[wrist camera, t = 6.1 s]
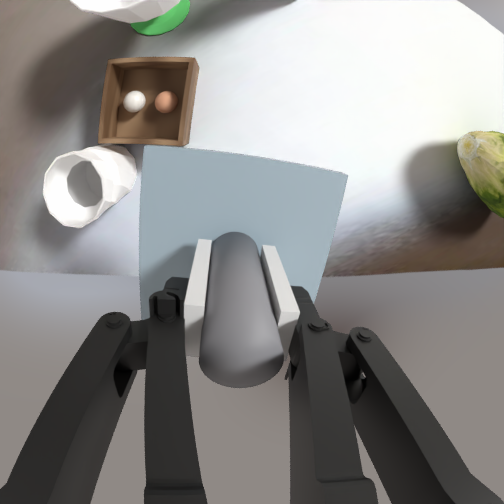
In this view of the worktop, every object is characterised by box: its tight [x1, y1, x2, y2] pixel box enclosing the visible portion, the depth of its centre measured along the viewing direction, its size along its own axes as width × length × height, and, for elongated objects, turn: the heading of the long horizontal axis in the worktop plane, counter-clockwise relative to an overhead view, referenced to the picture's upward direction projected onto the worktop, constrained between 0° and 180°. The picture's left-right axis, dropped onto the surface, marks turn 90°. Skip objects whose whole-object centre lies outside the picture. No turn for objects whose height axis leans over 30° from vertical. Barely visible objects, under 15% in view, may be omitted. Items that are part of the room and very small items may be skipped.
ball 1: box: [123, 91, 146, 112], centre depth 31 cm, size 3×3×3 cm
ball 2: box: [155, 91, 178, 113], centre depth 32 cm, size 3×3×3 cm
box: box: [98, 57, 199, 146], centre depth 31 cm, size 11×11×6 cm
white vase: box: [43, 143, 137, 228], centre depth 32 cm, size 9×9×12 cm
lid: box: [139, 145, 348, 388], centre depth 14 cm, size 12×12×10 cm
